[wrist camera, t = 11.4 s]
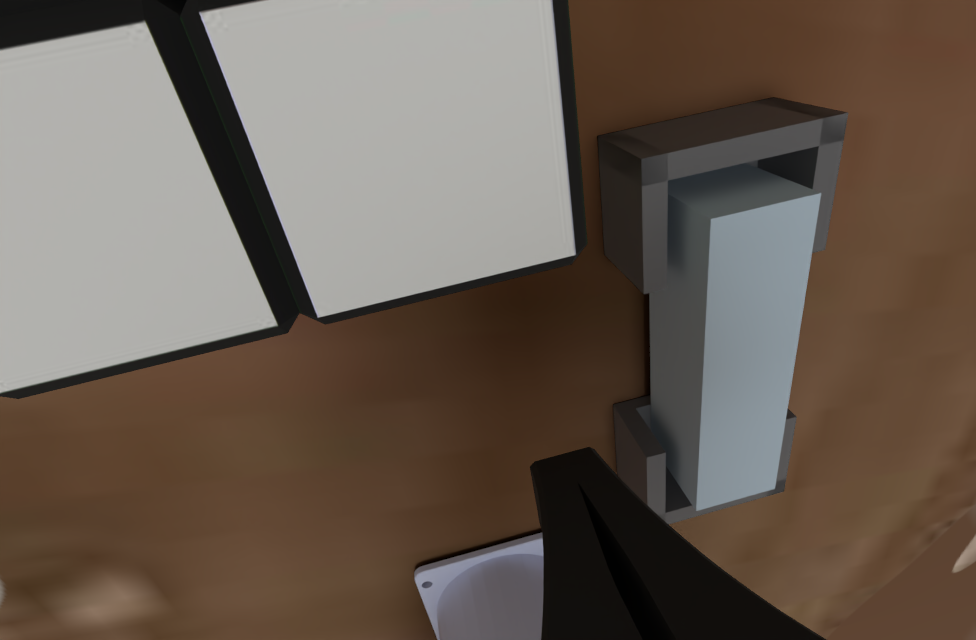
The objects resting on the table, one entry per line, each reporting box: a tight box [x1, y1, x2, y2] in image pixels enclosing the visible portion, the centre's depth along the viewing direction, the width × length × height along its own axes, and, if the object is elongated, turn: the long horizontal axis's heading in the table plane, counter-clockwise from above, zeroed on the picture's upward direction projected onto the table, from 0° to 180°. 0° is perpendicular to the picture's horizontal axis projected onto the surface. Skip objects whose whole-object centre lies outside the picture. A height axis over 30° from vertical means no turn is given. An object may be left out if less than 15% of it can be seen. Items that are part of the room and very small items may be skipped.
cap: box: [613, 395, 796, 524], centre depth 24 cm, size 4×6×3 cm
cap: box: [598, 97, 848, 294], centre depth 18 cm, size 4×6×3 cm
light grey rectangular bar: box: [649, 163, 821, 511], centre depth 20 cm, size 12×3×4 cm, turn 9°
